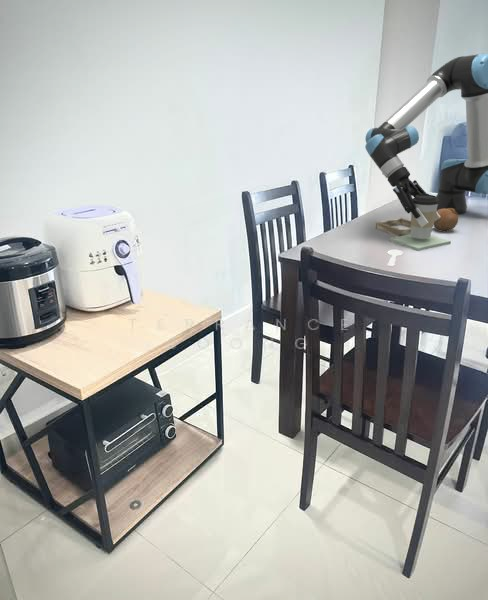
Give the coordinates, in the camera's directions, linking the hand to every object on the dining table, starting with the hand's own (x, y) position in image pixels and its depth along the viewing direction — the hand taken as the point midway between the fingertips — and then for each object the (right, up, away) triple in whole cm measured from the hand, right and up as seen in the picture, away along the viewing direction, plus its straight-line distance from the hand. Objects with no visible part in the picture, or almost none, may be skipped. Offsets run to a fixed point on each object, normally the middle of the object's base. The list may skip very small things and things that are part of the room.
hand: (431, 222), depth 157 cm
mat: (-2, -7, +5) cm, 9 cm away
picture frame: (-4, +1, +21) cm, 21 cm away
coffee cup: (-2, -5, +5) cm, 7 cm away
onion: (+13, 0, +19) cm, 23 cm away
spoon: (-17, -14, -9) cm, 23 cm away
